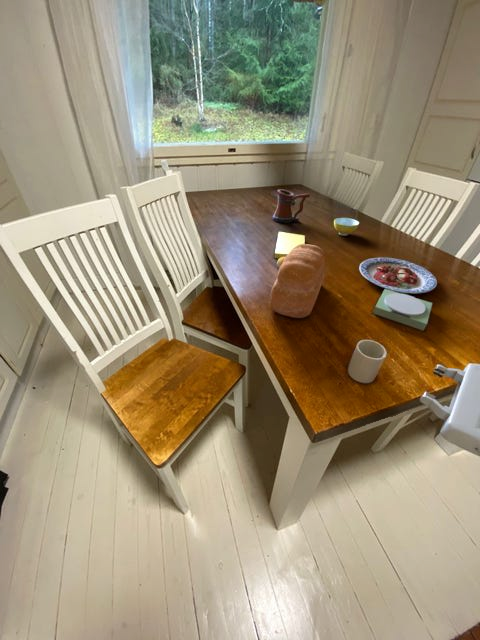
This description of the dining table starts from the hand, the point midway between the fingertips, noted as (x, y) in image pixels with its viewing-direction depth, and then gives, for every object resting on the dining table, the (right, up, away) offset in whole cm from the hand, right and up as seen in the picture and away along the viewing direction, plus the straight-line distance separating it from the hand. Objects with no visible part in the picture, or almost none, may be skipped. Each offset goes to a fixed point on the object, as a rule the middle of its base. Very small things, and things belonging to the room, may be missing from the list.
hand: (428, 381), depth 54 cm
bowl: (+13, +55, +80) cm, 98 cm away
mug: (-11, +67, +95) cm, 117 cm away
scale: (+13, +15, +31) cm, 36 cm away
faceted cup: (-9, 0, +11) cm, 14 cm away
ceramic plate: (+19, +28, +46) cm, 57 cm away
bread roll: (-19, +33, +53) cm, 65 cm away
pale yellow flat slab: (-15, +45, +67) cm, 82 cm away
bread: (-18, +20, +37) cm, 46 cm away
